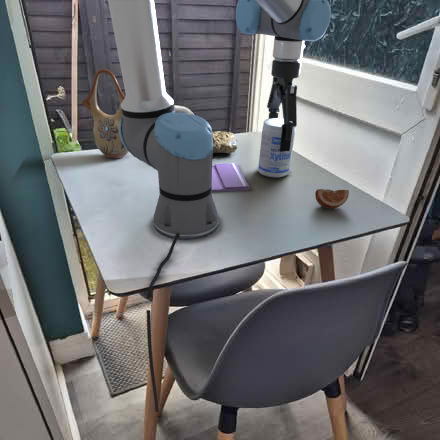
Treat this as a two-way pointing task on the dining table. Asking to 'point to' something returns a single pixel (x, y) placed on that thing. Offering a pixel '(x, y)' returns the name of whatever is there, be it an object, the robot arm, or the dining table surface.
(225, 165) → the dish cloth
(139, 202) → the dining table surface
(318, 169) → the dining table surface
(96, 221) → the dining table surface
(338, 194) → the fruit slice
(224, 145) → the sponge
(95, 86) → the ceramic vessel
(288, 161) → the supplement tub
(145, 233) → the dining table surface
